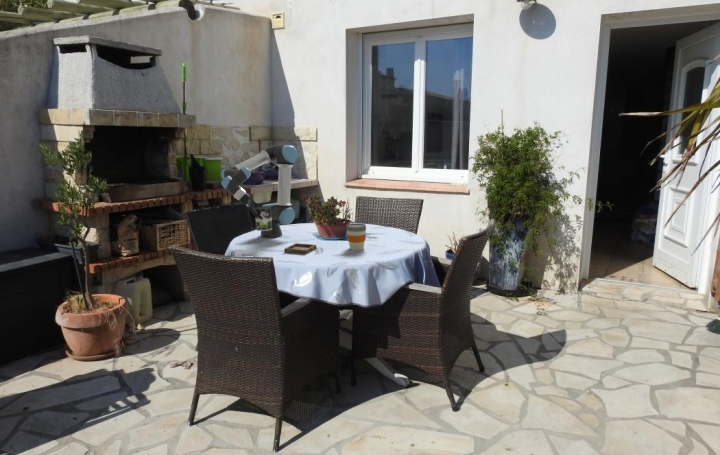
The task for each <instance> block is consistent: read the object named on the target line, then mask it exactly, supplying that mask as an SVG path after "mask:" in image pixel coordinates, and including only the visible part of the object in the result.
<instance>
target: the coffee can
mask: <svg viewBox="0 0 720 455" xmlns="http://www.w3.org/2000/svg"><path fill="white" fill-rule="evenodd" d="M260 206H261V205H260ZM255 208H256V210H257V211H258V212H259V213H260V214H261V215H262V216H263V217H265V218H266V219H267V220H268V222H267V223H266V224H264V223H263V222H262V221H261V220H260V219H259V218H258V217H257V218H256V217H255V216H254V217H255V230H256V231H258V232H261V231H269V230H272V218H271V207H268V206H263V205H262V206H261V207H255Z"/></svg>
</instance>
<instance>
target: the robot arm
mask: <svg viewBox="0 0 720 455" xmlns="http://www.w3.org/2000/svg"><path fill="white" fill-rule="evenodd" d="M297 160H298V150H297V149H296V147H295V146H293V145H289V144H274V145H271V146H269V147H267V148H265V149H262V150H261V151H260V152H259V153H258V154H256V155H254V156H252V157H250V158H248V159H246V160H244V161H242V162H240V163H238V164H236V165H234V166H232V167H229V168H224V169H222V171H220V177H221V179H222V181H221V182H220V183H221V186H222V187H223V188H224V189H225V190H226V191H227V192H228V193H230V194H231V195H232V196H233V199H236V200H237V201H238V202H239V203H240V204H241V205H245V207H246V208H247V209H248V210H249V211H250V213H252V215H253V216H254V217H256V218H257V217H258V218H259V219H260V220H261V221H262V222H263V223H264V224H266V223H267V222H268V220H267V219H266V218H265V217H263V216H262V215H261V214H260V213H259V212H258V211H257V210H256V208H255V207H261V205H260V204H259V203H257V202H256V201H255V200H254V199H251V195H250V194H249V193H248V192H247V191H246V190H245V189H244V188H243V187H242V186H241V185H243V183H245V182H246V181H247V180H248V179H249V178H250V177H251V174H252V173H251V171H253V170H255V169H257V168H258V167H261V166H262V165H266V164H270V163H273V162H276V166H277V167H278V175H277V176H278V178H277V179H278V181H277V201H276V203H275V202H274V203H268V204H267V203H266V204H263V205H262V206H268V207H271V218H272V230H269V231H260V237H261V238H265V239H271V238H272V239H273V238H279V237H282V236H283V231H282V228H281V227H280V224H281V225H289V224H291V223H292V222H293V221H294V220H295V218H296V217H295V216H296V212H295V209H293V204H292V203H291V182H292V168H293V167H294V166H295V162H296V161H297Z"/></svg>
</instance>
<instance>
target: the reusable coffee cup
mask: <svg viewBox="0 0 720 455" xmlns="http://www.w3.org/2000/svg"><path fill="white" fill-rule="evenodd" d="M366 230H367V225H366V224H364V223H358V222H357V223H350V224H349V223H348V224H346V232H347V233H346V235H347V241H348V245H349V250H352V251H361V250H364V248H365V242H366V238H367V233H366Z"/></svg>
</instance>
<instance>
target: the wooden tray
mask: <svg viewBox="0 0 720 455" xmlns="http://www.w3.org/2000/svg"><path fill="white" fill-rule="evenodd" d="M317 249H318V248H317V244H311V243H299V242H298V243H297V242H295V243H293V244H291V245H289V246H287V247H285V248H284V251H283V252H284V253H287V254H297V255H307V254H309V253H311V252H313V251H315V250H317Z"/></svg>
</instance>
